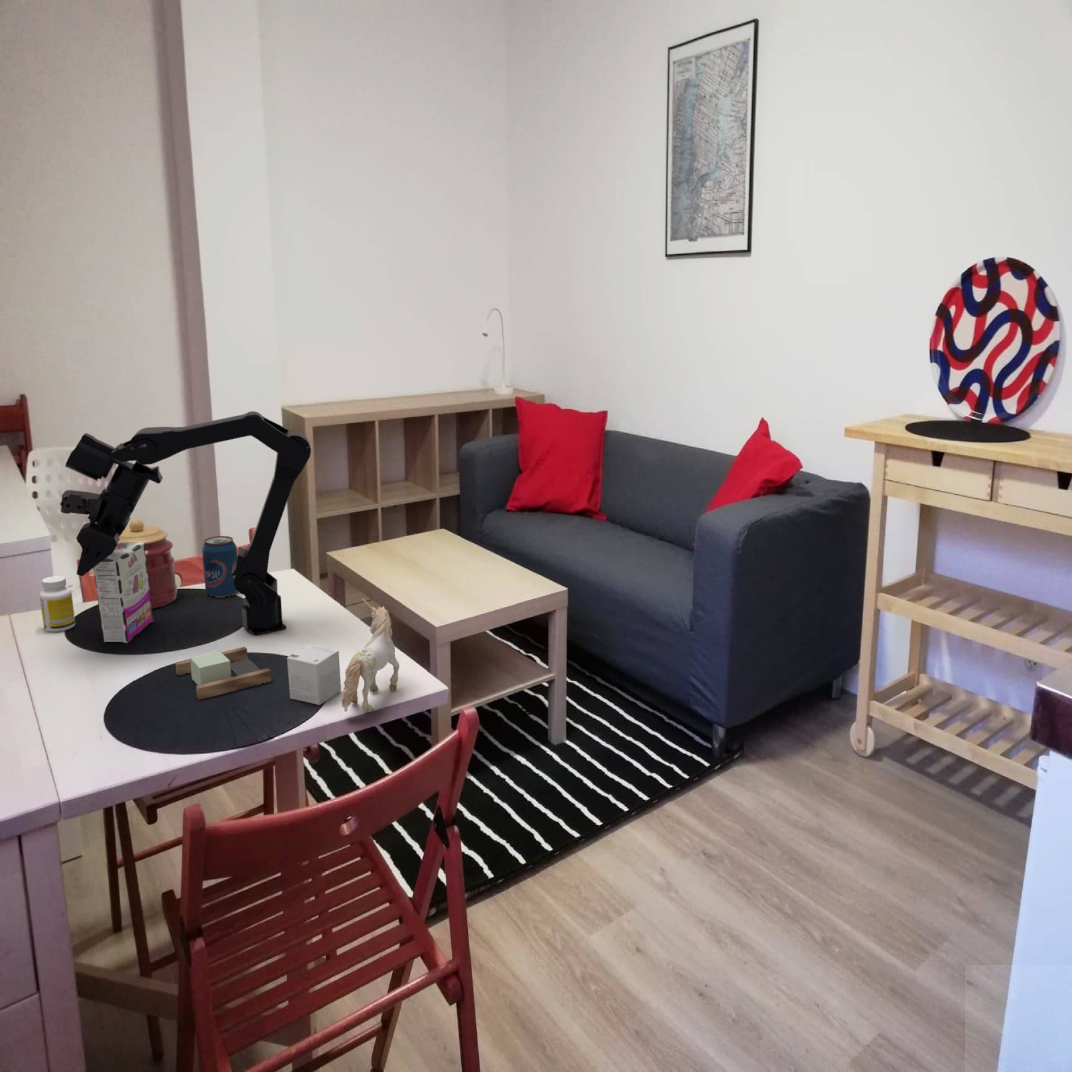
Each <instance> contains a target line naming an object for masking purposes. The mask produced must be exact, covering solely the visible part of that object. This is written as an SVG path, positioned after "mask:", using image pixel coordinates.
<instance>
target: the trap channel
mask: <svg viewBox="0 0 1072 1072" xmlns="http://www.w3.org/2000/svg"><path fill="white" fill-rule="evenodd" d="M220 652H221V653H222V654H223V655H224V656H225V657H226V658H228V659H229V660H230V667H231V672H232V671H233V672H232V673H233V674H234V673H235V674H234V675H235V676H231V677H230V678H226V679H222V680H218V681H214V682H210V683H206V684H202V685H195V693H196V698H197V700H198V701H201V700H204V699H209V698H213V697H217V696H220V695H225V694H228V693H232V692H236V691H239V689H241V690H243V689H248V688H251V687H256V686H259V685H263V684H262V683H264V684H267V682H268V683H271V681H272V671H271V669H269V668H263V669H260V668H259V667H258V666H257V664H255V663H254V662H253V661H252V660H251V659H250V658H249V657H248V648H246V646H242V647H237V648H232V649H230V650H229V649H228V650H225V651H220ZM232 662H234V663H232ZM175 673H176V675H177V676H178V675H179V676H183V675H187V674H186V673H188V674H192V673H191V662H190V658H189V659H185V660H179V661H177V662H176V661H175ZM236 675H237V676H236ZM255 685H256V686H255Z"/></svg>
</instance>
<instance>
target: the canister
mask: <svg viewBox="0 0 1072 1072" xmlns="http://www.w3.org/2000/svg"><path fill="white" fill-rule="evenodd" d="M167 537H168V532H167V531H165V530H163V529H161V528H160V527H157V526H155V525H146V524H145V525H144V523H143V521H142V520H140V519H133V520H131V521H130V523H129V526H126V528H125V530H124V531H123V533H122V534H121V535H120V536H119V539H120V540H119V542H118V544H119V543H122V542H127V543H129V542H134V543H144V549H145V556H146V565H147V572H148V582H149V589H150V598H151V605H152V608H156V609H158V608H157V607H160V606H163V607H165V606H164V605H166V604H168V603H170V604H172V603H173V602H175V601H176V600H177V594H178V589H177V588H178V587H177V584H176V574H175V573H176V572H175V565H174V564H175V558H174V557H173V556H172V552H171V550H172V549H173V546H174V545H173V542H172V541H170V540H169V539H167ZM174 600H175V601H174ZM172 601H173V602H172ZM171 602H172V603H171ZM168 605H169V604H168ZM166 606H167V605H166ZM160 608H161V607H160Z"/></svg>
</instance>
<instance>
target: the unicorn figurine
mask: <svg viewBox="0 0 1072 1072" xmlns="http://www.w3.org/2000/svg"><path fill="white" fill-rule="evenodd" d="M361 601H362V602H363V603H364V604H365V606H366V608H368V610H369V611H370V613H371V620H372V621H371V625H370V627H369V631H370V633H371V634H372V636H371V638H370V639H369V640H368V641H367V643H366V645H365V646H364V648H363V649H361V650H358V651H357V652H356V653H355V654H354V655H353V656H352V657H351V659H350V660H349V663H348V665H347V668H346V669H345V671H344V673H345V680H344V682H343V685H344V688H343V690H342V693H341V697H340V703H341V707H342V708H343V710H344V712H348V707H350V706H351V704H355V705H357V704H358V700H359V696H358V687H359V684H360V683H359V682H360V678H362V679H363V682H364V683H363V689H362V691H361V693H362V697H363V701H362V703H361V704H362V705H361V708H362V710H363V713H364V714H366V713H367V712H368V713H372V712H375V711H374V708H373V706H372V705H371V704H370V703H369V698H368V697H369V696H368V695H369V693H373V691H374V692H377V691H378V690H379V687H378V685H377V682H376V681H377V680H376V677H377V676H376V675H377V673H378V671H380V670H382V669H384V668H385V667H386V666H387V664H390V665H392V668H393V674H392V675H391V677H390V679H389V681H390V684H389V686H388V688H389V691H391V692H396V691H397V687H398V681H399V670H400V663H399V661H398V660H397V657H396V647H395V645H394V641H393V639H392V636H393V630H392V620H391V617H390V615H389V611H388V610H387V609H386V608H385V606H384V605H383V606H382V607H381V606H378V608H377V609H376V607H374V606H372V605H371V604H370V603H369V602H368V601H366V599H364V598H361ZM392 690H393V691H392Z"/></svg>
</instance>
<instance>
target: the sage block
mask: <svg viewBox="0 0 1072 1072" xmlns="http://www.w3.org/2000/svg"><path fill="white" fill-rule="evenodd" d="M221 652H222V651H221V650H218V651H216V652H211V653H205V654H201V655H196V656H192V657H189V659H190V662H191V673H190V674H191V679H192V681H193V682H194V681H195V682H194V684H196V683H197V684H196V686H198V685H202V684H206V683H210V682H214V681H218V680H222V679H226V678H230V677H232V671H231V667H230V660H229V659H228V658H226V657H225V656H224V655H223V654H222V653H221Z"/></svg>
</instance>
